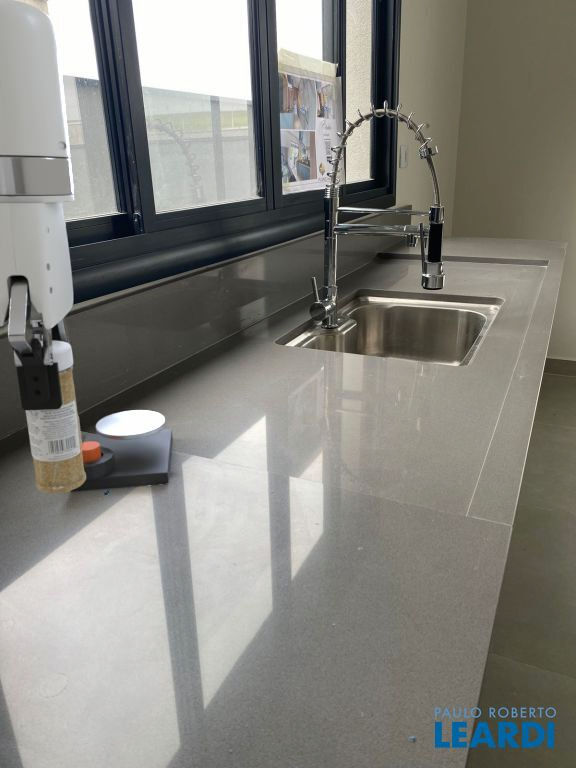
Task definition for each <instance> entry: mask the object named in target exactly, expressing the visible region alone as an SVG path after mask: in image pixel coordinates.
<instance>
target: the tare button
mask: <svg viewBox="0 0 576 768" xmlns="http://www.w3.org/2000/svg"><path fill="white" fill-rule="evenodd" d="M82 457H83V462H92V461H96V460H98V459H100V458H101V450H100V444H99V443H98V442H95V441H88V442H83V441H82Z"/></svg>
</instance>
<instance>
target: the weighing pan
mask: <svg viewBox="0 0 576 768" xmlns="http://www.w3.org/2000/svg"><path fill="white" fill-rule="evenodd" d="M165 425H166V418H165V416H164V415H163V414H162V413H160V412H157V411H152V410H145V409H144V410H143V409H135V410H133V409H132V410H124V411H120V412H116V413H112V414H109V415H106V416H104V417H102V418H101V419H99V420H98V421H97V422H96V424H95V431H96V434H99V435H100V436H102V437H105V438H109V439H116V440H127V439H136V438H141V437H145V436H149V435H152V434H154V433H156V432H158V431H160V430H163V429H164V427H165Z"/></svg>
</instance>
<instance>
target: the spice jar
mask: <svg viewBox="0 0 576 768" xmlns="http://www.w3.org/2000/svg"><path fill="white" fill-rule="evenodd" d="M39 342H41V345H42V341H39ZM52 345H53V363H54V362H58V368H59V376H60V385H61V393H62V402H63V404H62V406H61V408H59V409H52V410H28V411H27V410H25V416H26V424H27V429H28V430H27V431H28V436H29V445H30V451H31V452H30V453H31V456H32V460H33V467H34V473H35V487H36V489H37V490H38V491H40V492H42V493H47V494H63V493H68V492H71V490H73V489H76V488H78V487H79V486H81V485H82V484H83V483H84V482H85V480H86V473H85V472H84V466H83V457H82V443H83V440H82V431H81V425H80V423H81V422H80V417H79V414H78V413H79V412H78V406H77V397H76V390H75V383H74V382H75V381H74V382H73V373H74V372H73V373H72V370H73V371H74V366H72V365H74V356H73V349H72V345H71V344H70V342H69V343H67V342H63V341H52Z"/></svg>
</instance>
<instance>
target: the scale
mask: <svg viewBox="0 0 576 768" xmlns="http://www.w3.org/2000/svg"><path fill="white" fill-rule="evenodd" d="M173 437H174V436H173V429H172V428H168V429H161V430H160V431H158V432H156V433H154V434H152V435H149V436H145V437H141V438H136V439H127V440H116V439H109V438H105V437H102V436H100V435H99V434H98V433H92V434H90V433H89V434H86V435H85V437H84V439H83V440H82V443H83V442H88V441H95V442H98V443H99V444H100V450H101V458H100V459H98V460H96V461H92V462H83V466H84V472H85V473H86V480H85V482H84V483H83V484H82V485H81V486H79V487H78V488H76V489H73V490H70V492H87V491H96V490H97V491H98V490H113V489H125V488H134V487H135V488H136V487H148V485H151V486H160V485H159V484H164V485H167V484H166V483H170V474H169V472H171V464H170V461H172V453H171V451H173V443H174V442H173V440H174V439H173Z"/></svg>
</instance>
